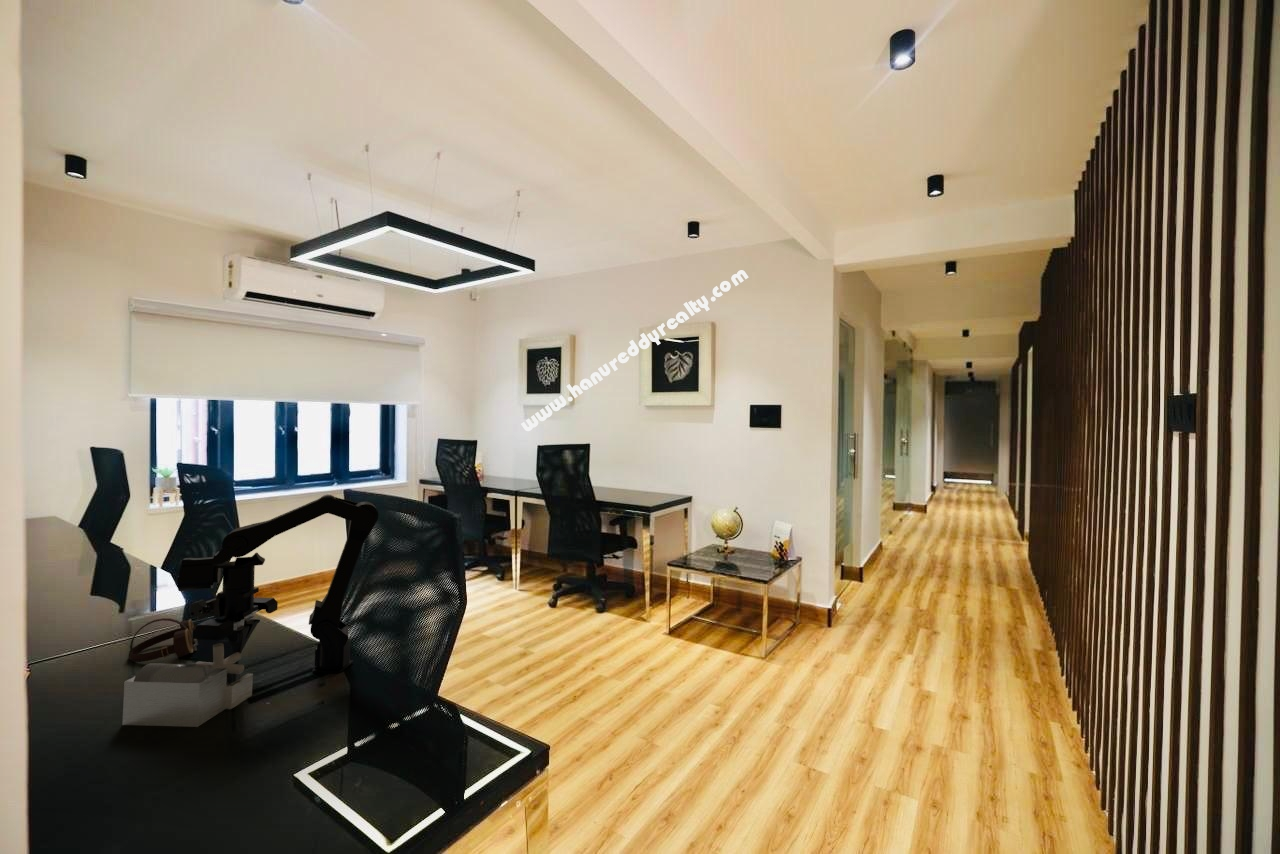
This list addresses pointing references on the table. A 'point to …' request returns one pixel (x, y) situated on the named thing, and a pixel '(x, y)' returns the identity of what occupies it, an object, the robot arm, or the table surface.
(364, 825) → the table surface
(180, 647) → the goggles
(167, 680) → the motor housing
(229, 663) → the pipe connector
